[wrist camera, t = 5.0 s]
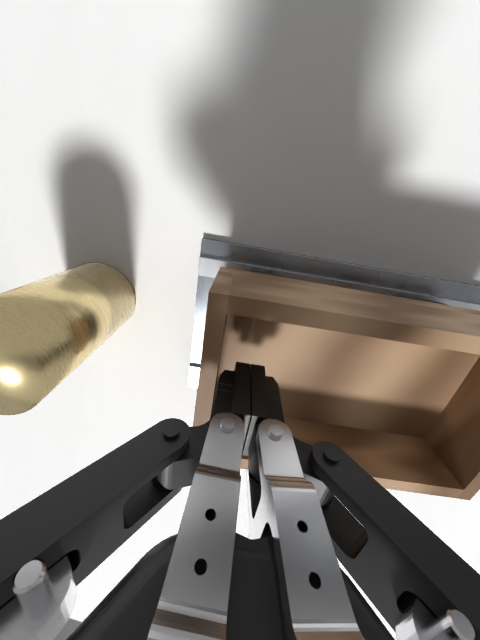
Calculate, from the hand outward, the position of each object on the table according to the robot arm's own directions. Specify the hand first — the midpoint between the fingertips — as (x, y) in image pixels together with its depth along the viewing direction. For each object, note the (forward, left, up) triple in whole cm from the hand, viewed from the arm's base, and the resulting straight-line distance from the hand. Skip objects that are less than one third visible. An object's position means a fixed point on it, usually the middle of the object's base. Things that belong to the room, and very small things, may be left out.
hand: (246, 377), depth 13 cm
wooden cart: (-6, -2, -6) cm, 9 cm away
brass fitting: (+10, +4, -6) cm, 12 cm away
